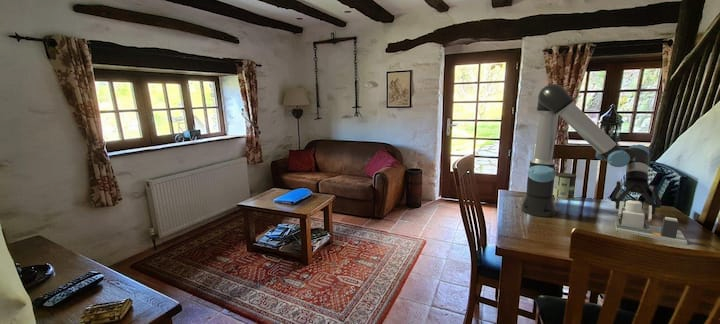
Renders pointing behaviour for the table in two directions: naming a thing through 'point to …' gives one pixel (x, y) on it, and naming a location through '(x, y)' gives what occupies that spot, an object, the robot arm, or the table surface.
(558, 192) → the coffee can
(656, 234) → the breaker panel
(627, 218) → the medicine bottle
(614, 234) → the table surface
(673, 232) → the breaker toggle
